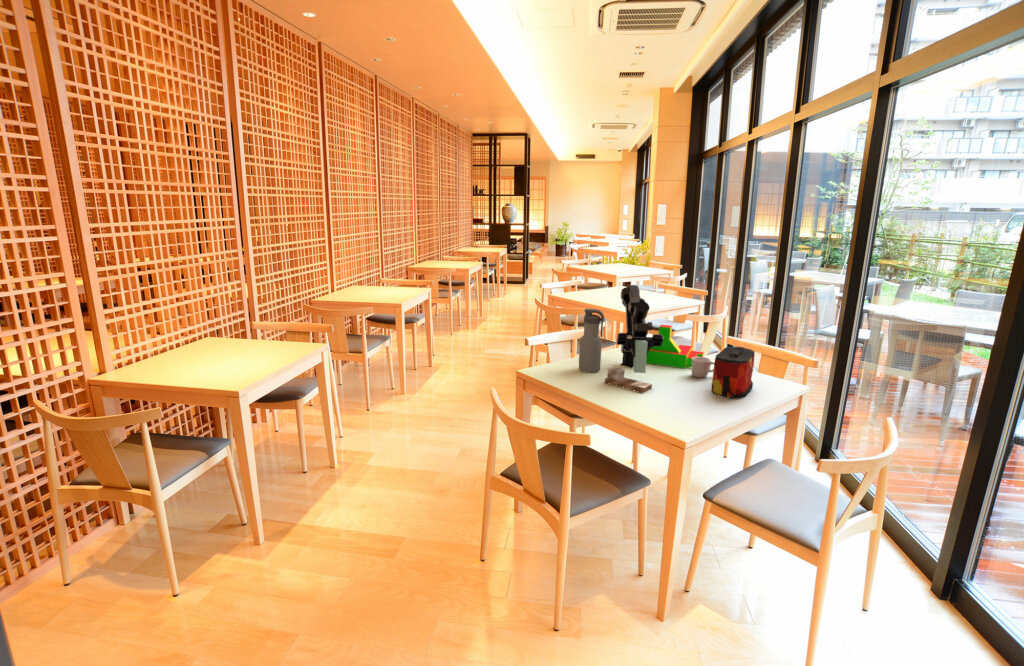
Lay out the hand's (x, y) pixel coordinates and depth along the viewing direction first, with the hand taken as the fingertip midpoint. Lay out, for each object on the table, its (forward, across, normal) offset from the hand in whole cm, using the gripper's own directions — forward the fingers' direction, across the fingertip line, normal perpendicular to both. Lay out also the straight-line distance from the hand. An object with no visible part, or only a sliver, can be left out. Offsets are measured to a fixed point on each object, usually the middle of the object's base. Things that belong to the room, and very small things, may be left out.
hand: (640, 356), depth 219 cm
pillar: (+4, 0, +6) cm, 7 cm away
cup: (-2, +30, +20) cm, 36 cm away
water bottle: (-4, -20, +21) cm, 29 cm away
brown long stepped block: (+10, -5, +7) cm, 13 cm away
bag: (+9, +39, +9) cm, 41 cm away
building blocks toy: (-18, +22, +36) cm, 46 cm away
